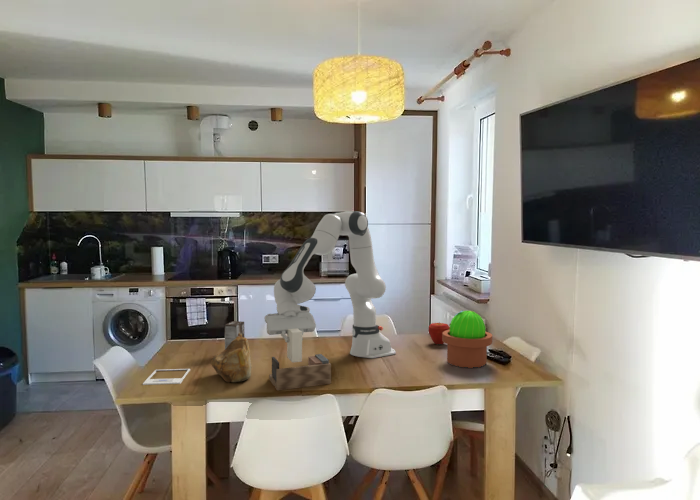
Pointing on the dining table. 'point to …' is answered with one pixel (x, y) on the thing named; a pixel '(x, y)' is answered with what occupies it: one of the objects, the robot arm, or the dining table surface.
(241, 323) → the coffee box
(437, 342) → the apple
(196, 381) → the dining table surface
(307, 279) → the robot arm
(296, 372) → the shelf
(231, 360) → the rough brown rock
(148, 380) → the photo frame
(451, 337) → the potted cactus
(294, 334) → the white rectangular block
